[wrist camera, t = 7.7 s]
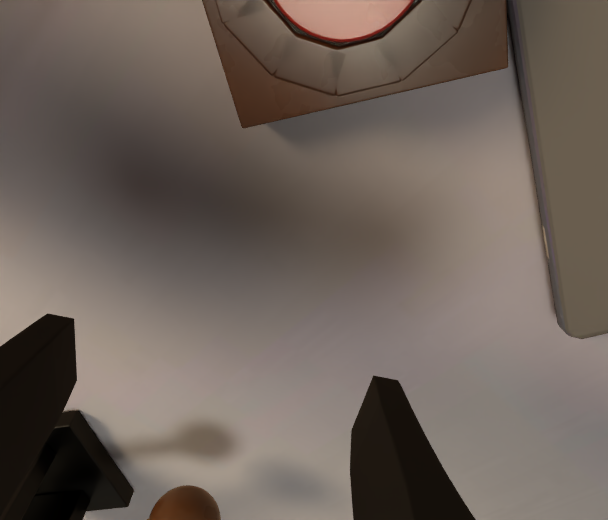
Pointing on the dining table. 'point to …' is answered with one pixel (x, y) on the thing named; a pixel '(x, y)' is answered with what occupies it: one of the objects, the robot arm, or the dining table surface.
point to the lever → (186, 505)
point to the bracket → (69, 477)
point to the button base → (350, 55)
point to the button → (343, 17)
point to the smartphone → (568, 147)
